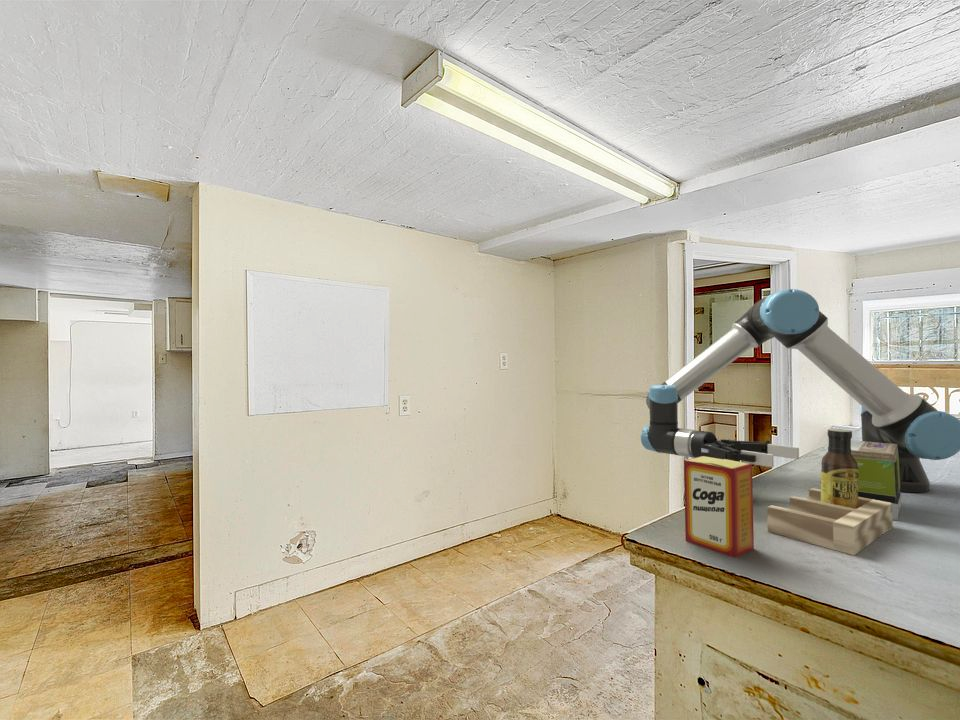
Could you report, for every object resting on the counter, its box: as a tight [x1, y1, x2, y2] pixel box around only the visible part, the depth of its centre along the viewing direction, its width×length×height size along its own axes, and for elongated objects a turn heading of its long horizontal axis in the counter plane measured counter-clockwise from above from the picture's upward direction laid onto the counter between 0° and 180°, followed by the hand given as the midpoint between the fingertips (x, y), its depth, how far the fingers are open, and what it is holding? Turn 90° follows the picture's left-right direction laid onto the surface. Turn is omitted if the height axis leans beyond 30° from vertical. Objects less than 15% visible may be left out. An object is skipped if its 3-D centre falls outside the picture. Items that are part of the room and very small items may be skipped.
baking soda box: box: [683, 456, 755, 558], centre depth 85 cm, size 10×6×16 cm
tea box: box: [851, 440, 902, 521], centre depth 104 cm, size 15×10×15 cm
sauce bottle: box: [820, 428, 859, 509], centre depth 95 cm, size 6×6×20 cm
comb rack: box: [766, 487, 894, 556], centre depth 91 cm, size 23×14×5 cm, turn 125°
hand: (786, 457), depth 103 cm, fingers open, 13 cm apart
